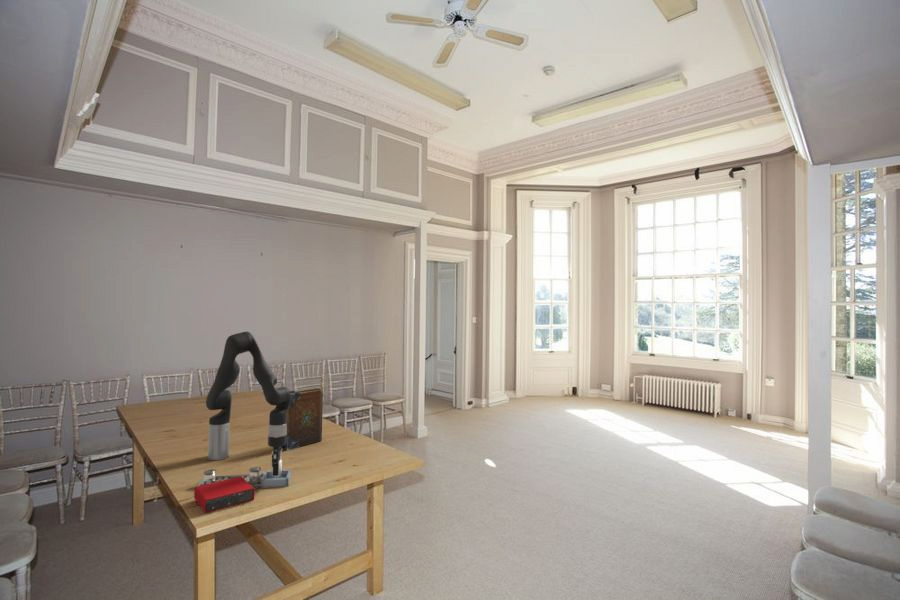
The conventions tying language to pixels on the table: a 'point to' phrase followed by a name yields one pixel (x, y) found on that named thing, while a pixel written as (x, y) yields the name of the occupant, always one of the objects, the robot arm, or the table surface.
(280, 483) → the tray
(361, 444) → the table surface
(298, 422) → the decorative book
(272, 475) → the halved boiled egg
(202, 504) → the red device housing
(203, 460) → the table surface
